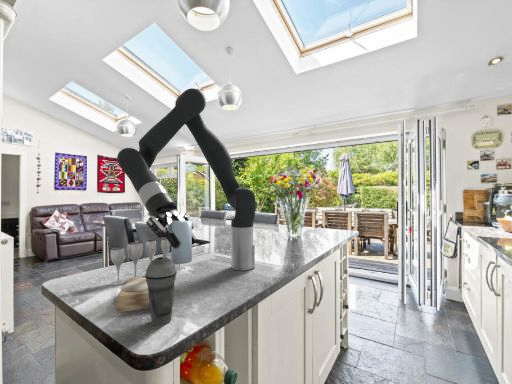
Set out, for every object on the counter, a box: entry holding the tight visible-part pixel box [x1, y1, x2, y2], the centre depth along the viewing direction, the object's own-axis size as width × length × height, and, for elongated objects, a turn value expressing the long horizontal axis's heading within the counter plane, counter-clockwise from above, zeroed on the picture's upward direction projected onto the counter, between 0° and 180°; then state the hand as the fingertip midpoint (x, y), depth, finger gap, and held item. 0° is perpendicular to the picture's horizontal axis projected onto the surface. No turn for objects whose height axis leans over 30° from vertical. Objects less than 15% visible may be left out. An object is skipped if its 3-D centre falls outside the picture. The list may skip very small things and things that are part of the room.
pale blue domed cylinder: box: [170, 220, 193, 265], centre depth 70 cm, size 5×5×11 cm
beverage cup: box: [144, 238, 178, 327], centre depth 62 cm, size 7×7×20 cm
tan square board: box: [115, 276, 150, 313], centre depth 75 cm, size 12×14×4 cm
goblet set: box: [110, 238, 186, 286], centre depth 97 cm, size 28×6×13 cm, turn 132°
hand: (186, 244), depth 69 cm, fingers closed on pale blue domed cylinder, 5 cm apart
